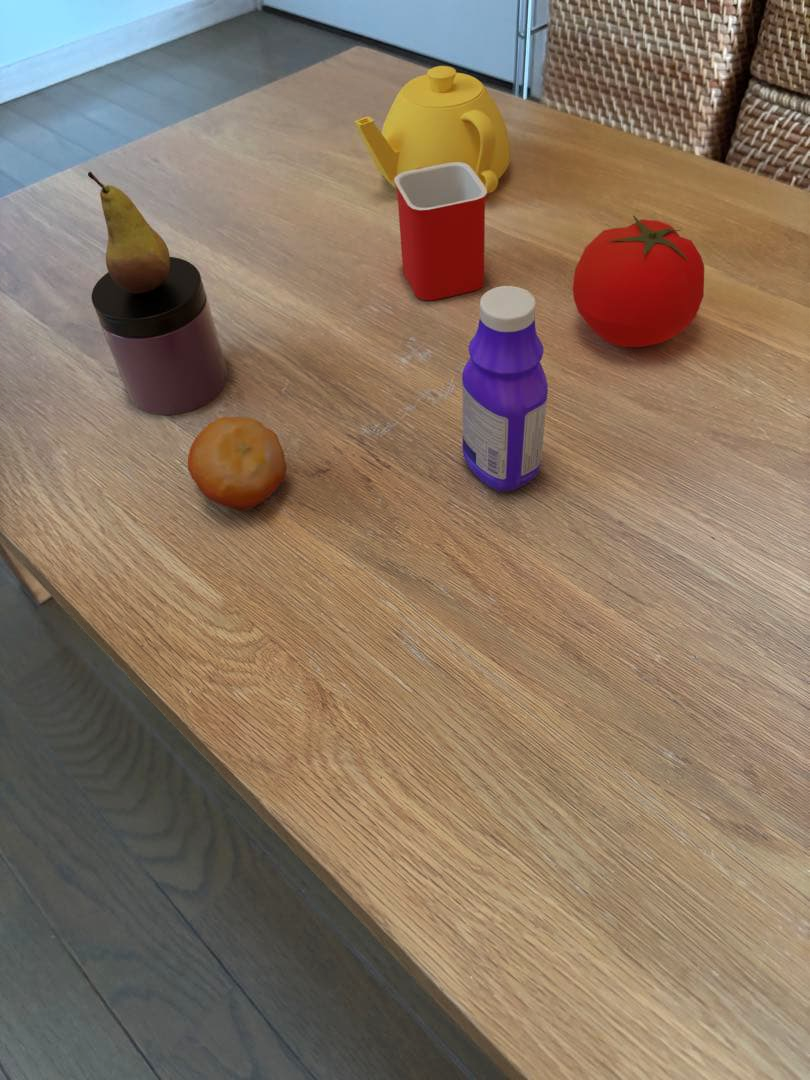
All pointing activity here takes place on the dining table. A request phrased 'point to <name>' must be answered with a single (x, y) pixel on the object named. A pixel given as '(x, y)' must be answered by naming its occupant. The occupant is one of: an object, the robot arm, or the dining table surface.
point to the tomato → (639, 284)
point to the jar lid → (150, 302)
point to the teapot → (440, 128)
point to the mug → (442, 229)
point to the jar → (172, 366)
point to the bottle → (504, 392)
